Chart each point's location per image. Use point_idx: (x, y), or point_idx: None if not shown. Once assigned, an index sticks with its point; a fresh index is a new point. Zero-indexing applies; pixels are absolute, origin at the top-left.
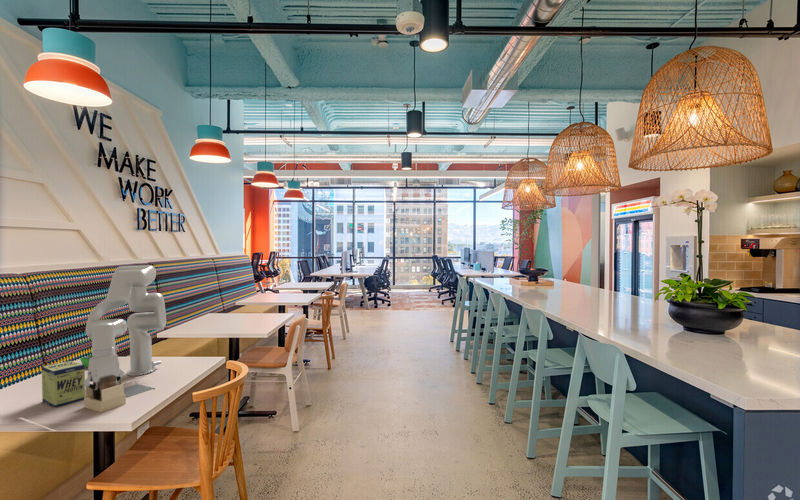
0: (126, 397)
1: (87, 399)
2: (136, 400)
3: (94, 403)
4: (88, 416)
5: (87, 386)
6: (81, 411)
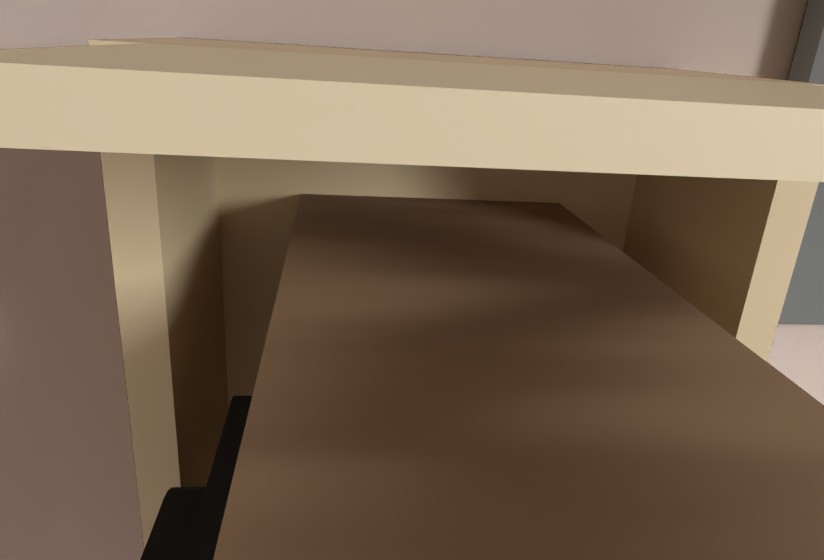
0: (816, 320)
1: (122, 249)
2: None
3: None
4: (51, 531)
5: (18, 146)
6: (71, 174)
